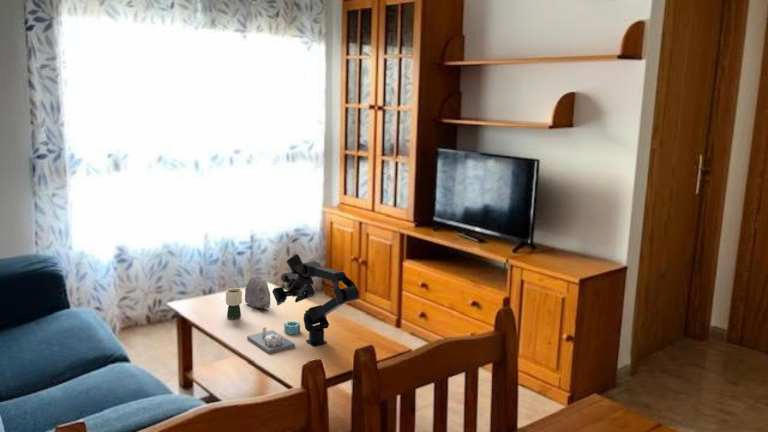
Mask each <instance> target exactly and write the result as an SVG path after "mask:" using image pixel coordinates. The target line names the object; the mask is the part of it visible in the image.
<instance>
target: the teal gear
mask: <svg viewBox="0 0 768 432" xmlns="http://www.w3.org/2000/svg"><path fill="white" fill-rule="evenodd" d="M283 327H284V328H283V329H284V330H283V332H284V333H285V334H288V335H297V334H299V333H301V324H300V322H298V321H295V320H292V321H287V322H285V323H284V324H283Z"/></svg>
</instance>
